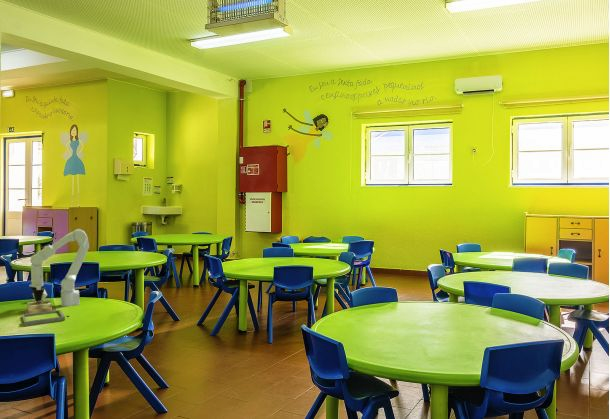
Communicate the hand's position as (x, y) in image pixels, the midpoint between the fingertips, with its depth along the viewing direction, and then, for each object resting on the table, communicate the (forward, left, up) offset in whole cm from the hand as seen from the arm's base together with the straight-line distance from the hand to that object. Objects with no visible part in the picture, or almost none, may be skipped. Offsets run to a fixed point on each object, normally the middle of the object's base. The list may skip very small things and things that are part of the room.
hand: (38, 300), depth 285 cm
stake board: (0, +6, -5) cm, 8 cm away
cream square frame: (0, +6, -4) cm, 7 cm away
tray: (0, +25, -5) cm, 25 cm away
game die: (-3, -25, -5) cm, 26 cm away
